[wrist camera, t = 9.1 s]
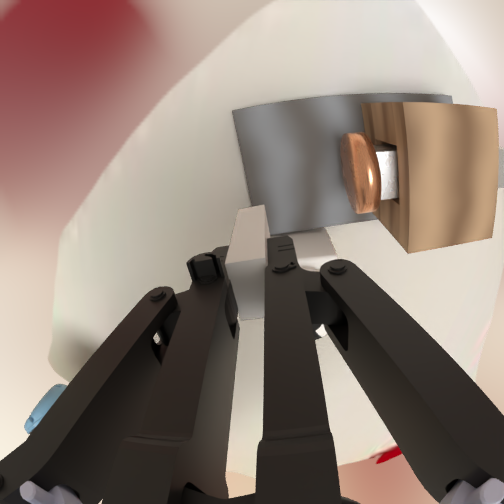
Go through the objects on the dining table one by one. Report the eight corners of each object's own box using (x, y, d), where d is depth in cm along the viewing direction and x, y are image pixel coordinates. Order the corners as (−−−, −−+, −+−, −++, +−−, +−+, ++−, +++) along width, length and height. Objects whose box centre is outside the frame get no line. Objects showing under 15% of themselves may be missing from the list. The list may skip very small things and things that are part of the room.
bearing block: (259, 231, 34) (254, 288, 23) (233, 110, 27) (213, 109, 17) (449, 204, 30) (502, 244, 20) (445, 95, 24) (508, 99, 14)
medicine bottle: (271, 283, 37) (271, 353, 26) (264, 232, 34) (262, 292, 23) (326, 278, 36) (345, 345, 25) (325, 226, 33) (350, 284, 22)
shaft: (344, 199, 28) (365, 226, 21) (336, 130, 25) (358, 137, 18) (477, 185, 25) (513, 206, 19) (476, 127, 22) (516, 137, 16)
